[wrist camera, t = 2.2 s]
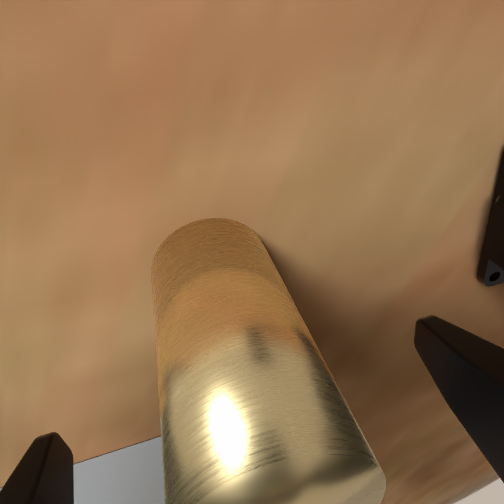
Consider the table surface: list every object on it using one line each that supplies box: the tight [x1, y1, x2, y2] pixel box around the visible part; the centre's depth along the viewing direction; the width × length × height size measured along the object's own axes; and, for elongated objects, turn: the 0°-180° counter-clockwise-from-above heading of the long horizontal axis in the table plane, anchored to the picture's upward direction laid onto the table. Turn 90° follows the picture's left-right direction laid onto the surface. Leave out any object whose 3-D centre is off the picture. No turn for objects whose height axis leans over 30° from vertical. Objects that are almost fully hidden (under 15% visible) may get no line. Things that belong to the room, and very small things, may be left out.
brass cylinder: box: [152, 218, 386, 504], centre depth 10 cm, size 4×4×8 cm
